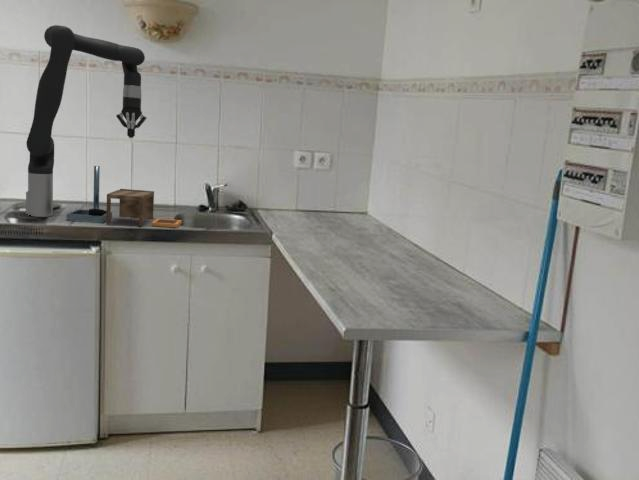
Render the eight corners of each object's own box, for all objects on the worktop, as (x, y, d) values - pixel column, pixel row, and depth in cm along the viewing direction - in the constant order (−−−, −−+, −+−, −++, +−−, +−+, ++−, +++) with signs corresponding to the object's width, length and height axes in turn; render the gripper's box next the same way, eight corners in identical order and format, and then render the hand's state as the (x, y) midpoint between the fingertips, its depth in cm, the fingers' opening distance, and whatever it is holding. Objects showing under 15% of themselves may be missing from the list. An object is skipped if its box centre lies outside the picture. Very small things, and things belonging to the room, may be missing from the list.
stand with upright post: (66, 219, 265) (66, 167, 261) (79, 214, 281) (80, 164, 277) (102, 222, 265) (103, 170, 262) (113, 216, 281) (114, 167, 277)
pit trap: (151, 226, 267) (151, 222, 267) (157, 221, 278) (157, 218, 278) (176, 228, 267) (176, 224, 267) (181, 223, 278) (181, 220, 278)
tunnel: (106, 224, 264) (106, 194, 261) (119, 216, 283) (120, 188, 281) (141, 227, 264) (142, 196, 262) (153, 219, 283) (154, 191, 281)
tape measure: (102, 217, 270) (102, 208, 270) (85, 217, 270) (85, 208, 270) (108, 219, 277) (108, 210, 277) (91, 218, 277) (91, 209, 277)
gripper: (113, 95, 281) (113, 136, 284) (145, 97, 281) (144, 139, 284) (118, 95, 288) (117, 136, 291) (149, 98, 288) (148, 138, 292)
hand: (131, 137), depth 288 cm, fingers closed
